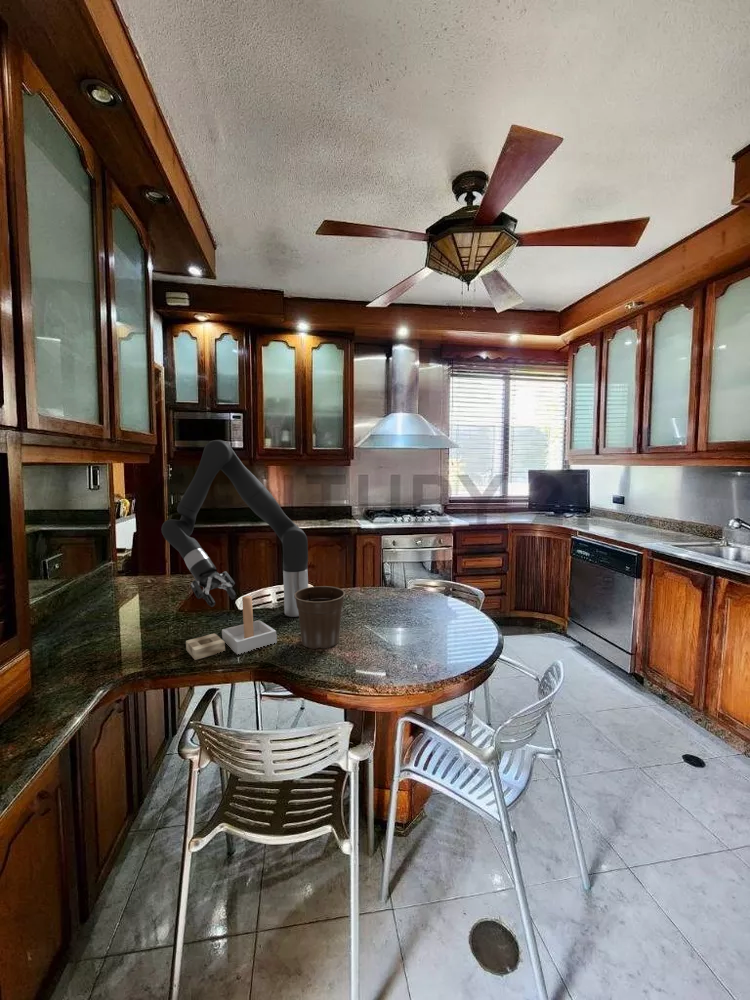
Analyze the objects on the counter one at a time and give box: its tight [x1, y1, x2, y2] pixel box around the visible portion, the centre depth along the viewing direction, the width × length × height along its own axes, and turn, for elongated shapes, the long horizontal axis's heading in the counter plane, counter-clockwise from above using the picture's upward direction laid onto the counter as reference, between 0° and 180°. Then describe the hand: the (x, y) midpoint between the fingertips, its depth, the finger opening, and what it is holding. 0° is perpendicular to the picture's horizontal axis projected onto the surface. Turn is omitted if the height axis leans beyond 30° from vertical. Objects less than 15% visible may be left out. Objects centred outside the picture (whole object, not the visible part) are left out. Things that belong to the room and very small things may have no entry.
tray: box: [221, 619, 278, 656], centre depth 140 cm, size 13×13×4 cm
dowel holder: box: [185, 633, 226, 661], centre depth 134 cm, size 9×9×3 cm
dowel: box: [241, 595, 254, 639], centre depth 140 cm, size 3×3×14 cm
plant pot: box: [294, 585, 346, 650], centre depth 139 cm, size 16×16×16 cm
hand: (224, 601), depth 145 cm, fingers open, 8 cm apart
